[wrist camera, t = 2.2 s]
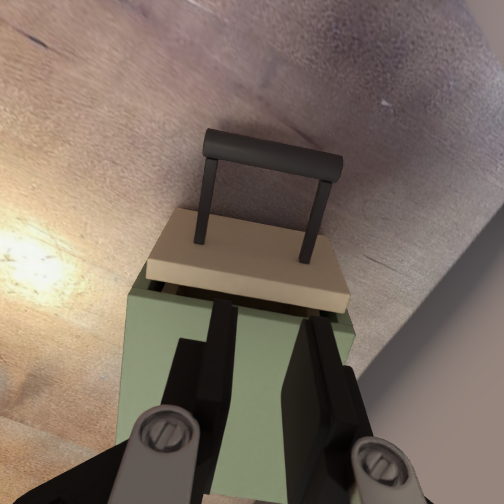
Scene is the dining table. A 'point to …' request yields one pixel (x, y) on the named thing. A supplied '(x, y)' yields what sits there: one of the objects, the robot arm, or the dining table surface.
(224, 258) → the drawer
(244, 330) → the cabinet
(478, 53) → the dining table surface
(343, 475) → the robot arm
